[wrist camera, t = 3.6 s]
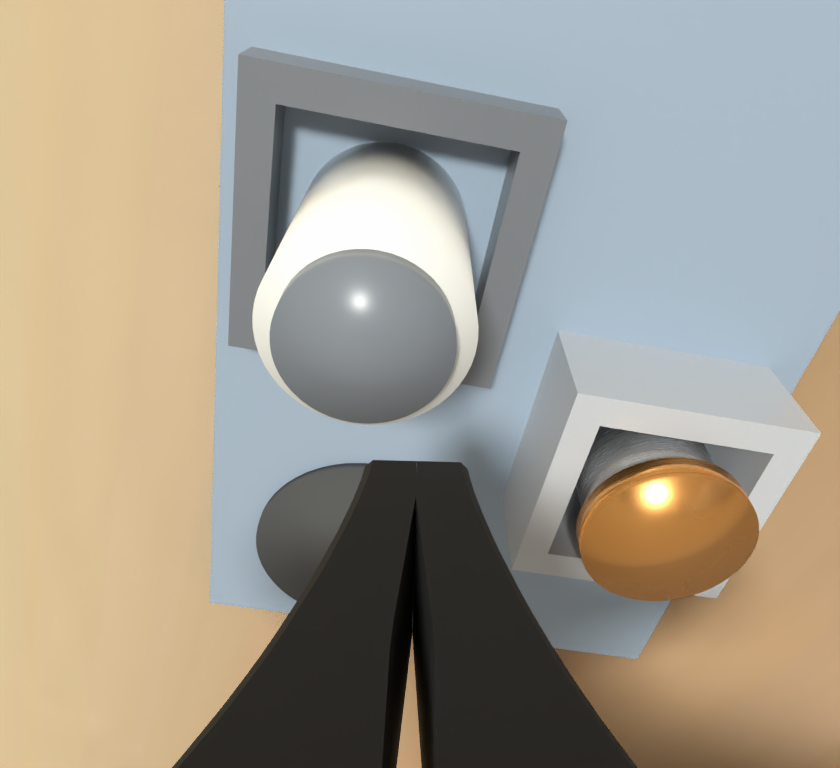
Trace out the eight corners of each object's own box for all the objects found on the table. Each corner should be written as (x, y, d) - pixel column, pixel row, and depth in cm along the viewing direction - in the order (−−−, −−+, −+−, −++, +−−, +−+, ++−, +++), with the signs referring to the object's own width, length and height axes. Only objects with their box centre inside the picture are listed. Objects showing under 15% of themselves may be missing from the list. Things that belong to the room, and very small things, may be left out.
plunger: (731, 400, 19) (791, 491, 16) (673, 511, 21) (715, 610, 18) (583, 375, 18) (614, 464, 15) (540, 491, 21) (559, 589, 17)
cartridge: (482, 159, 16) (506, 261, 11) (447, 311, 18) (453, 455, 13) (311, 126, 15) (251, 215, 10) (296, 285, 18) (241, 422, 13)
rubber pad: (490, 481, 21) (491, 488, 21) (445, 624, 25) (445, 632, 25) (264, 446, 21) (262, 453, 20) (252, 598, 24) (250, 605, 24)
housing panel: (995, 5, 14) (1143, 21, 11) (632, 645, 26) (658, 736, 23) (236, -169, 13) (177, -202, 10) (214, 589, 25) (184, 678, 22)
